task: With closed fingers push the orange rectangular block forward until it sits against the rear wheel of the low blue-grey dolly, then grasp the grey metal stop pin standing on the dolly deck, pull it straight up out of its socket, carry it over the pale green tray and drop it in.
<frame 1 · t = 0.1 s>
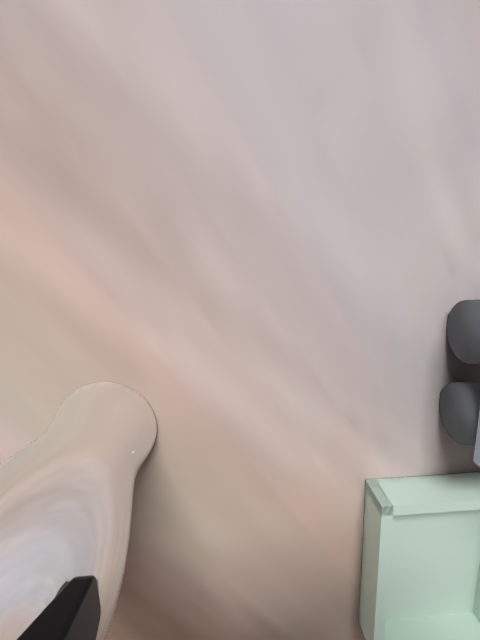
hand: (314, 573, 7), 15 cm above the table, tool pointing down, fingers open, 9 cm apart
tray: (423, 549, 26), on the table
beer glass: (108, 424, 22), on the table
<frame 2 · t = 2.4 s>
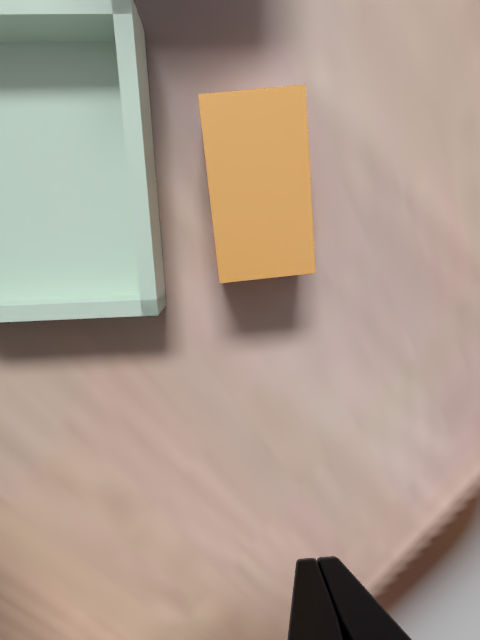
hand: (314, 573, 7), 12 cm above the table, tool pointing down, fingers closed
tray: (57, 181, 17), on the table
orange rectangular block: (252, 198, 17), on the table
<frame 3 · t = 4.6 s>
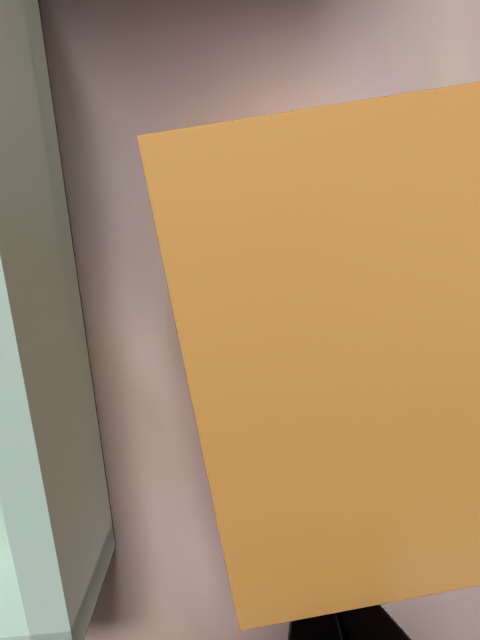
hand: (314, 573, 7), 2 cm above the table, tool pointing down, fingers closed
orange rectangular block: (293, 331, 8), on the table, touching gripper
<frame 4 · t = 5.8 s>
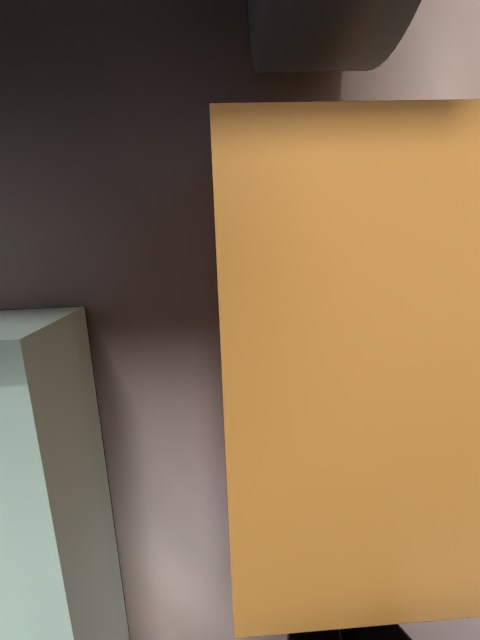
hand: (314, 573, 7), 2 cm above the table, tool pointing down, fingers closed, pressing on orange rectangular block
orange rectangular block: (312, 335, 8), on the table, touching gripper
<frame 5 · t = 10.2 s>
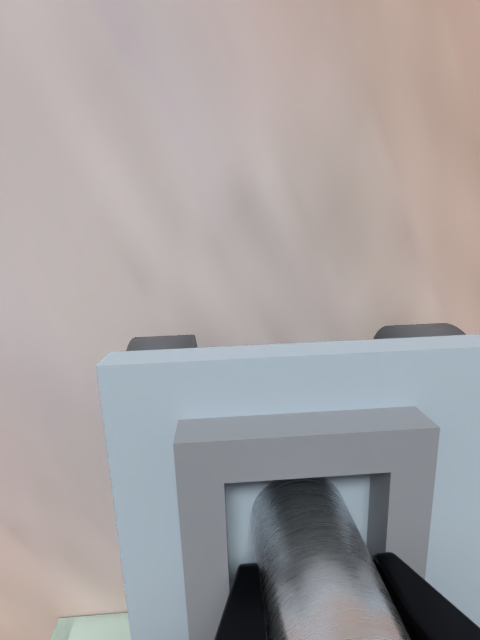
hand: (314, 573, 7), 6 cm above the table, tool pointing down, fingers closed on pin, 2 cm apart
pin: (298, 514, 9), point 5 cm above the table, touching gripper, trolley
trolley: (285, 429, 14), on the table
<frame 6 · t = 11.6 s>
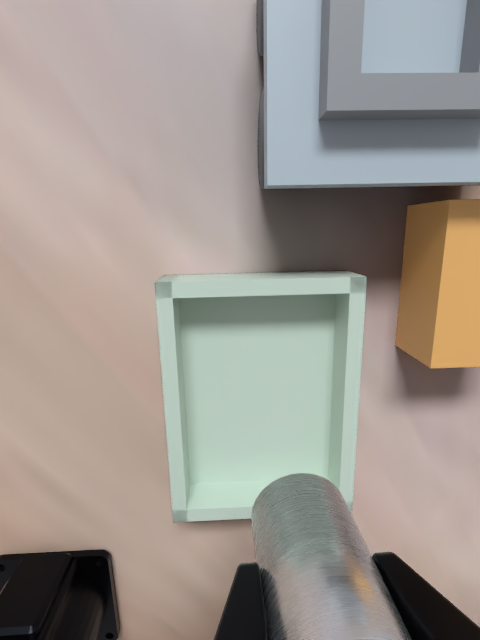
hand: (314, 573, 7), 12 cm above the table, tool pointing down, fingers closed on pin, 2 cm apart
pin: (298, 515, 9), point 10 cm above the table, touching gripper
tray: (257, 386, 19), on the table
orange rectangular block: (437, 277, 18), on the table
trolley: (367, 88, 16), on the table
when the fingers open (4 cm above the table, at t = 13.2 s): pin drops 2 cm, resting on tray.
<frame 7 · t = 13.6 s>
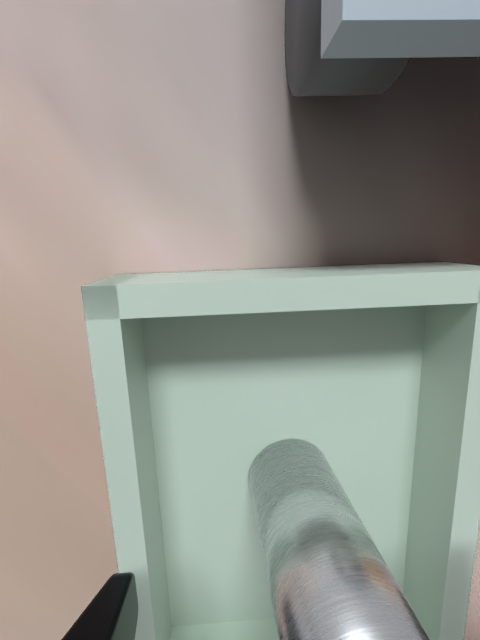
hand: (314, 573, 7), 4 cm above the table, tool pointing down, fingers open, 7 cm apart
pin: (288, 475, 11), point 1 cm above the table, touching tray
tray: (284, 462, 11), on the table
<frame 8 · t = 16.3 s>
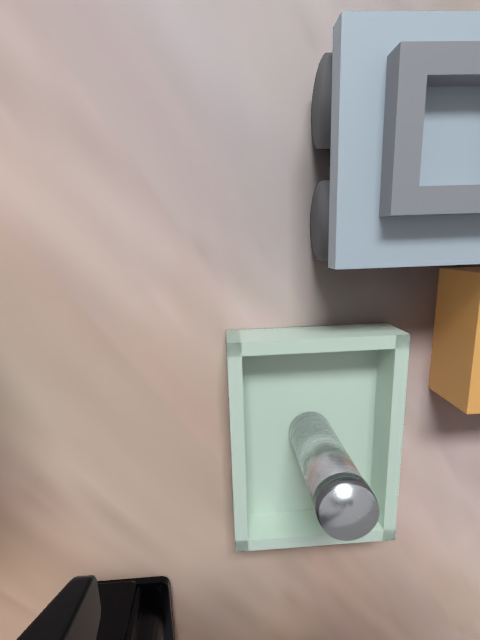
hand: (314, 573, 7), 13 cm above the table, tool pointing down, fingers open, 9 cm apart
pin: (309, 430, 21), point 1 cm above the table, touching tray
tray: (306, 425, 21), on the table
orange rectangular block: (465, 327, 21), on the table
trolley: (405, 169, 18), on the table
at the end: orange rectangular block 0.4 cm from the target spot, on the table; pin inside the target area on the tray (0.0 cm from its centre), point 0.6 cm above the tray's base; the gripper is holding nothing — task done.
